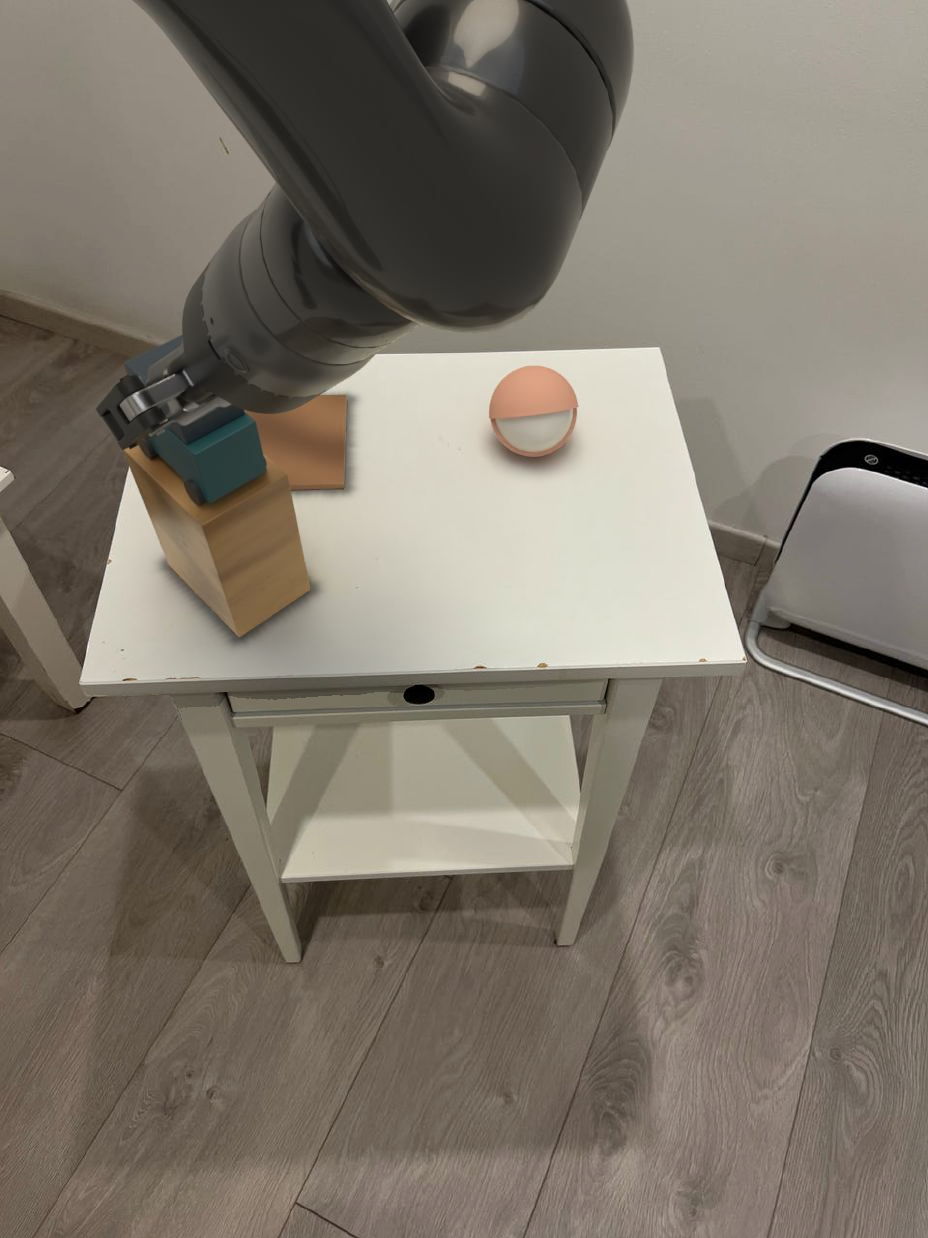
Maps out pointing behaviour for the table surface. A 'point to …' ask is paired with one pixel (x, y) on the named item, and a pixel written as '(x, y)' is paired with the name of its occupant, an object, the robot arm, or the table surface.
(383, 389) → the table surface
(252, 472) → the toy van
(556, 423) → the toy ball
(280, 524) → the wooden block
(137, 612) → the table surface
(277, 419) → the mat
